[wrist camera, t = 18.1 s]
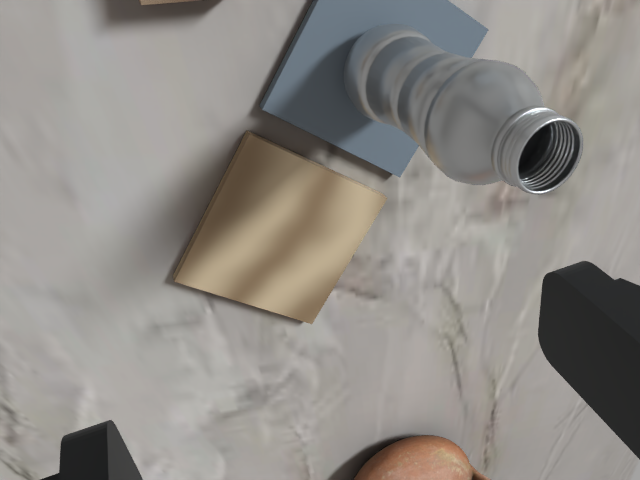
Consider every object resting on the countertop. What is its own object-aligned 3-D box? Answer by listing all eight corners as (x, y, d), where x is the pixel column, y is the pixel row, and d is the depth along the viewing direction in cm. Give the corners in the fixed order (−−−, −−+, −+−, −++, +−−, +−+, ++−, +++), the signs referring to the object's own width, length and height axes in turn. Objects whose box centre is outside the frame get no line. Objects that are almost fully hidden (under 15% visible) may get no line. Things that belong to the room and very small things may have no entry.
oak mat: (172, 275, 47) (174, 281, 47) (246, 130, 44) (249, 134, 43) (308, 317, 54) (311, 324, 53) (382, 193, 50) (387, 198, 49)
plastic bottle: (431, 39, 44) (636, 111, 28) (391, 123, 46) (559, 238, 30) (359, 3, 41) (539, 58, 25) (319, 94, 43) (461, 203, 27)
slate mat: (259, 106, 43) (262, 109, 43) (347, -68, 40) (353, -68, 39) (394, 173, 50) (399, 177, 49) (481, 27, 46) (488, 29, 45)
